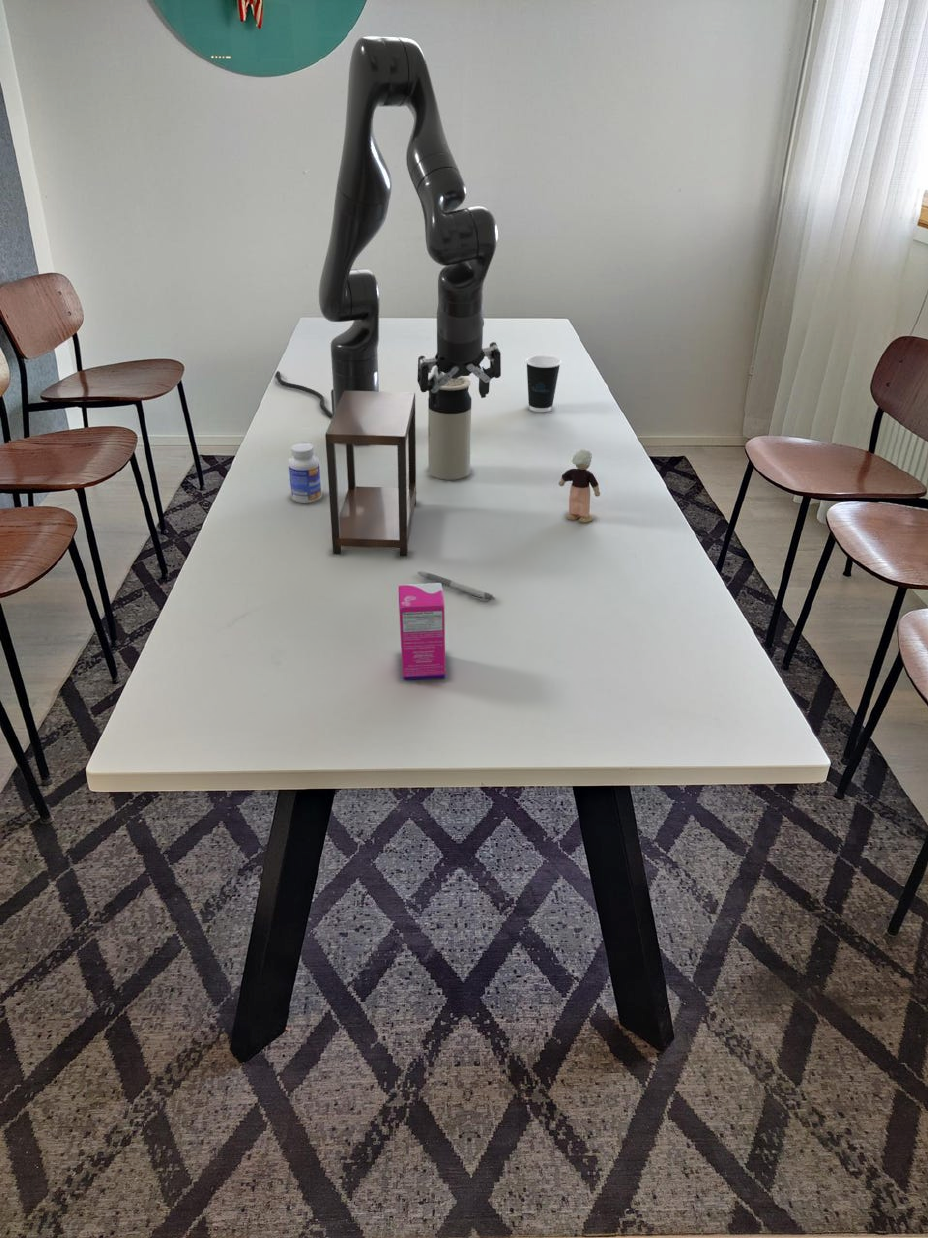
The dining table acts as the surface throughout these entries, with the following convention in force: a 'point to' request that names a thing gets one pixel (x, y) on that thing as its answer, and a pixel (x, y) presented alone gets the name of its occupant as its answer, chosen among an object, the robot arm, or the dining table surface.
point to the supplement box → (422, 631)
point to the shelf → (373, 509)
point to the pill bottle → (304, 474)
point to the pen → (458, 586)
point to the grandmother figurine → (580, 486)
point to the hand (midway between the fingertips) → (458, 399)
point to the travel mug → (450, 431)
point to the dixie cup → (542, 381)
